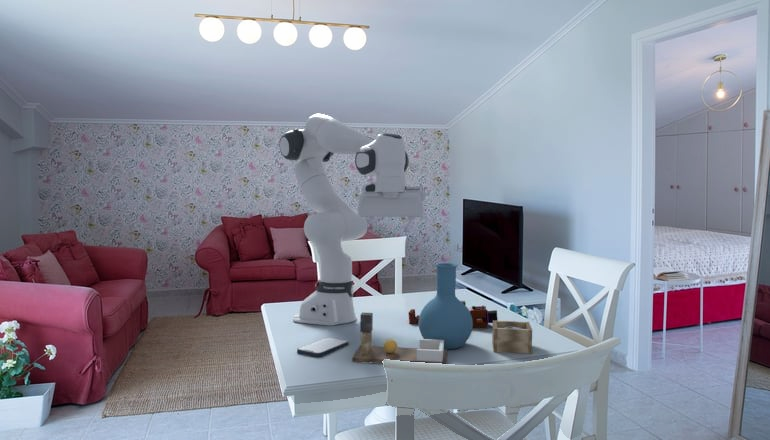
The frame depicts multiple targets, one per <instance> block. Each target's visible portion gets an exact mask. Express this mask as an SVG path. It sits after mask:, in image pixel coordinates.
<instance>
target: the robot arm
mask: <svg viewBox="0 0 770 440" xmlns="http://www.w3.org/2000/svg"><path fill="white" fill-rule="evenodd" d="M405 148H406V146H405V141H404V138H403V136H402V135H399V134H397V133H389V132H388V133H387V132H384V133H383V132H382V133H379V134H378V135H377V137H376V139H374V138H372V137H369V136H367V135H365V134H363V133H362V132H360V131H358V130H355V129H353V127H350V126H349V125H346V124H345V123H344V122H341V121H339V120H338V119H336V118H334V117H332V116H329V115H327V114H326V115H325V114H323V113H322V114H321V113H315V114H313V115H311V116H309V118H308V119H307V120H306V122H305V126H304V128H303V129H302V128H301V129H298V128H295V129H293V130H289V131H287V132H284V133H283V134H282V136H281V137H280V139H279V151H280V153H281V155H282V157H283V158H284V159H285V160H289V161H297V160H298V161H297V162H296V163H295V165H294V175H295V178H296V182H297V184H298V186H299V189H300V191H301V193H302V195H303V196H304V199H305V201H306V203H307V206H308V207H309V208H310V209H311V210H312V211H314V212H316V213H314V214H311V215H308V216H307V218H306V219H305V221H304V225H303V231H304V235H305V238H307V240H308V241H309V242H310V243H312V244H313V245H314V247H315V249H316V251H317V253H318V256H319V260H320V278H319V279H317V281H316V282H315V284H314V288H315V291H313V292H312V293H310V294H309V296H307V297H305V299H304V300H302V302H301V304H300V307H299V312H298V313H296V314H294V315H293V318H292V321H293V323H300V324H310V325H319V326H331V327H332V326H336V325H341V324H348V323H352V322H355V321H356V320H357V316H356V313H355V307H354V300H353V296H354V280H353V261H352V260H353V259H352V258H351V256H350V255H349V254H347V253H345V251H343V248H342V242H350V241H351V242H352V241H355V240H358V239H360V238H363V237H364V236H365V235H366V234H367V232H368V231H367V230H368V221H367V217H368V218H369V222H370V223H371V225H372V227H373V228H372V230H373V232H375V233H376V232H378V233H379V230H380V229H379V228H380V227H379V226H380V225H376V222H375V220H376V218H377V217H379V218H384V217H385V218H397V217H398V218H407V221H408V223H407V224H406V225H403V232H404V233H409V232H410V226H411V224H412V222H413V221H414V220H413V218H421V217H423V216H424V215H425V206H424V201H425V199H426V191H425V189H424V188H422V187H420V186H406V171H407V170H408V167H409V163H410V160H409V159H410V158H409V156H408V153H407V152H406V149H405ZM334 154H339V155H355V158H354V163H355V168H356V170H357V171H358V172H359V174H360V175H363V176H367V177H376V181H372V182H370V183H368V184H364V185H362V186H361V191H362V194H360V196H359V198H358V205H357V210H356V209H354V208H352V207H351V205H349V204H348V203H347V202H346V201H345V200H344V199H343V198H342V197H341V196H340V195H339V193H338V192H337V191H336V189H335V188H334V186H333V184H332V182H331V180H330V178H329V177H328V174H327V173H326V171H325V169H324V166H323V163H328V162H329V161H330V159H331V157H332V156H334Z"/></svg>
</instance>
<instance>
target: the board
mask: <svg viewBox="0 0 770 440" xmlns="http://www.w3.org/2000/svg"><path fill="white" fill-rule="evenodd" d="M417 349H420V347H403V346H402V347H400V346H398V347H397V350H396V351H395V352H394V353H387V352H386V351H385V350H384V345H383V346H381V345H378V346H377V345H372V349H371V351H370V352H369V354H368V355H362V354H361V344H360V345H359V346H358V347H357V349H356V351H355V353H354V354H353V356H352V358H351V363H363V362H372V363H371V364H381V363H382V361H383V360H384V359H390V360H400V361H410V362H425V363H442V364H446V365H447V358H448V349H444V353H443V360H442V362H435V361H417Z"/></svg>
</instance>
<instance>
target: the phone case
mask: <svg viewBox="0 0 770 440" xmlns="http://www.w3.org/2000/svg"><path fill="white" fill-rule="evenodd" d="M348 344H349V341H348V340H343V339H338V338H332V337H325V338H322V339H319V340H317V341H314V342H311V343H308V344H306V345H304V346H301V347H298V348H297V351H296V353H297V354H298V355H303V356H308V357H313V358H322V357H325V356H327V355H329V354H332V353H334V352H335V351H338V350H340V349H342V348H344V347H347V346H349V345H348Z"/></svg>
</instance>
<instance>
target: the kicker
mask: <svg viewBox="0 0 770 440" xmlns="http://www.w3.org/2000/svg"><path fill="white" fill-rule="evenodd" d="M373 314H374V313H373V312H361V313H360V321H359V324H360V329H359V330H360V343H361V344H360V345H361V354H362V355H368V354H369V352H370V351H371V349H372V346H373V344H372V343H373V342H372V339H373V338H372V335H373V333H372V332H373Z"/></svg>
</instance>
